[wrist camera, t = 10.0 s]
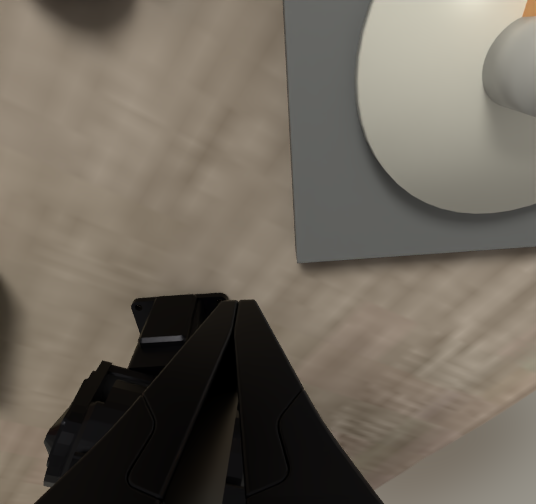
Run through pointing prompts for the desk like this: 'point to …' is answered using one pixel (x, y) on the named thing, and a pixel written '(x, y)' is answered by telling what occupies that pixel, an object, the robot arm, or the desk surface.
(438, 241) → the dial board
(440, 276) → the desk surface
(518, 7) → the dial
